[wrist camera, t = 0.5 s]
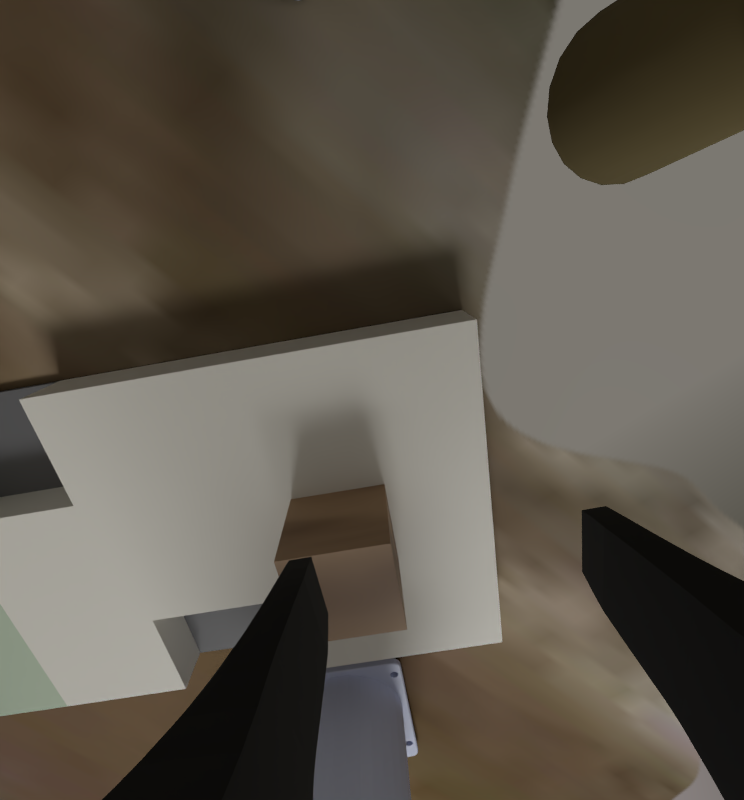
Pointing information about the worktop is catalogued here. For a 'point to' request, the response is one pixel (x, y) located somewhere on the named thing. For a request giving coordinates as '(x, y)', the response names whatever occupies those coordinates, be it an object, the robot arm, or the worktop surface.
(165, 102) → the worktop surface
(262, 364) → the trap deck
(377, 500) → the walnut block
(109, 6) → the worktop surface
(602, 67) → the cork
